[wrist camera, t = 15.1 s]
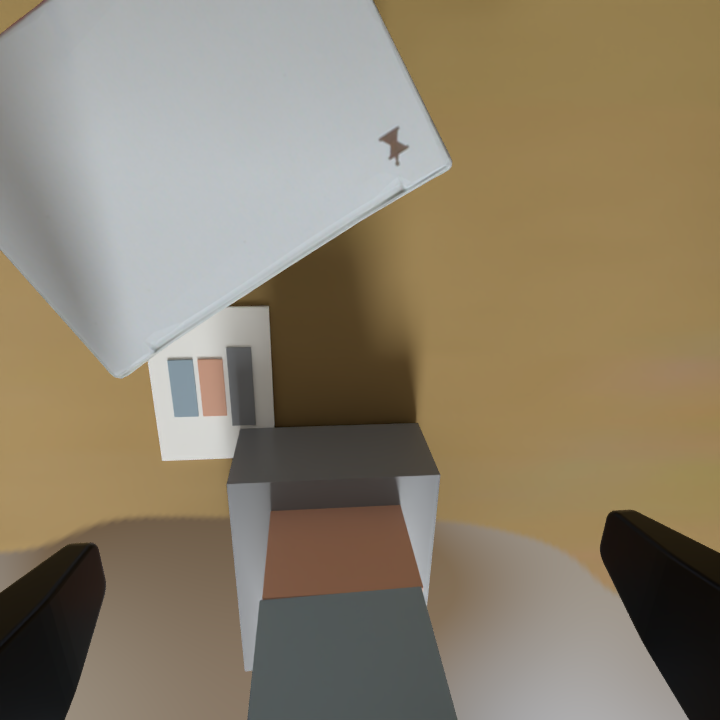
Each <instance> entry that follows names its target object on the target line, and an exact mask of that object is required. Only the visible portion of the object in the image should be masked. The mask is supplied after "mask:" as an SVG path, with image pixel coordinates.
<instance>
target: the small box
mask: <svg viewBox="0 0 720 720" xmlns="http://www.w3.org/2000/svg"><path fill="white" fill-rule="evenodd" d="M451 166H452V160H451V157H450V155H449V153H448V151H447V149H446V147H445V145H444V143H443V141H442V139H441V137H440V135H439V133H438V131H437V129H436V127H435V125H434V123H433V121H432V119H431V117H430V115H429V113H428V111H427V109H426V107H425V105H424V103H423V100H422V98H421V96H420V94H419V92H418V90H417V88H416V86H415V84H414V82H413V80H412V78H411V76H410V74H409V72H408V70H407V68H406V66H405V64H404V62H403V60H402V58H401V56H400V54H399V52H398V50H397V48H396V46H395V44H394V42H393V40H392V38H391V36H390V34H389V32H388V30H387V28H386V26H385V24H384V22H383V20H382V18H381V16H380V14H379V12H378V10H377V8H376V5H375V3H374V1H373V0H43V1H42V2H41V3H40V4H39V5H37V6H36V7H35V8H34V9H32V10H31V11H30V12H28V13H27V14H26V15H24V16H23V17H22V18H20V19H19V20H18V21H16V22H15V23H14V24H12V25H11V26H10V27H9V28H7V29H6V30H5V31H4V32H2V33H1V34H0V250H1V251H2V252H3V253H4V254H5V256H6V257H7V258H8V259H9V260H10V261H11V262H12V263H13V265H14V266H15V267H16V268H17V269H18V270H19V271H20V272H21V273H22V275H23V276H24V277H25V278H26V279H27V280H28V281H29V282H30V284H31V285H32V286H33V287H34V288H35V289H36V290H37V291H38V293H39V294H40V295H41V296H42V297H43V298H44V299H45V300H46V301H47V303H48V304H49V305H50V306H51V307H52V308H53V309H54V310H55V312H56V313H57V314H58V315H59V316H60V317H61V318H62V319H63V321H64V322H65V323H66V324H67V325H68V326H69V327H70V328H71V330H72V331H73V332H74V333H75V334H76V335H77V336H78V337H79V339H80V340H81V341H82V342H83V343H84V344H85V345H86V346H87V348H88V349H89V350H90V351H91V352H92V353H93V354H94V355H95V356H96V358H97V359H98V360H99V361H100V362H101V363H102V364H103V366H104V367H105V368H106V369H107V370H108V371H109V373H110V374H111V375H113V376H114V377H117V378H124V377H126V376H128V375H130V374H131V373H132V372H134V371H135V370H136V369H137V368H139V367H140V366H141V365H143V364H144V363H145V362H147V361H148V360H150V359H151V358H152V357H154V356H155V355H156V354H158V353H159V352H161V351H162V350H163V349H165V348H166V347H167V346H169V345H170V344H172V343H173V342H175V341H176V340H178V339H179V338H181V337H182V336H184V335H185V334H187V333H188V332H190V331H191V330H193V329H194V328H196V327H197V326H199V325H200V324H202V323H203V322H205V321H206V320H208V319H209V318H211V317H212V316H214V315H215V314H217V313H218V312H220V311H222V310H223V309H225V308H226V307H228V306H229V305H231V304H232V303H234V302H236V301H237V300H239V299H240V298H242V297H243V296H245V295H246V294H248V293H249V292H251V291H253V290H254V289H256V288H257V287H259V286H260V285H262V284H263V283H265V282H266V281H268V280H269V279H271V278H273V277H274V276H276V275H277V274H279V273H280V272H282V271H283V270H285V269H286V268H288V267H290V266H291V265H293V264H294V263H296V262H297V261H299V260H301V259H302V258H304V257H305V256H307V255H308V254H310V253H312V252H313V251H315V250H316V249H318V248H319V247H321V246H323V245H324V244H326V243H327V242H329V241H330V240H332V239H334V238H335V237H337V236H338V235H340V234H341V233H343V232H344V231H346V230H348V229H349V228H351V227H352V226H354V225H355V224H357V223H358V222H360V221H362V220H363V219H365V218H367V217H368V216H370V215H372V214H373V213H375V212H377V211H378V210H380V209H382V208H383V207H385V206H387V205H389V204H390V203H392V202H394V201H395V200H397V199H399V198H400V197H402V196H404V195H406V194H407V193H409V192H411V191H412V190H414V189H416V188H418V187H419V186H421V185H423V184H425V183H426V182H428V181H430V180H431V179H433V178H435V177H437V176H439V175H441V174H443V173H444V172H446V171H448V170H449V169H450V168H451Z"/></svg>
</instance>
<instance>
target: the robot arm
mask: <svg viewBox="0 0 720 720" xmlns="http://www.w3.org/2000/svg"><path fill="white" fill-rule="evenodd" d="M600 553H601V557H602V560H603V563H604V565H605V567H606V569H607V571H608V573H609V575H610V577H611V579H612V581H613V583H614V585H615V587H616V589H617V591H618V593H619V596H620V598H621V600H622V602H623V604H624V606H625V608H626V610H627V612H628V614H629V616H630V618H631V620H632V622H633V624H634V626H635V628H636V630H637V632H638V634H639V636H640V638H641V640H642V641H643V643H644V645H645V647H646V649H647V650H648V652H649V654H650V656H651V657H652V659H653V661H654V662H655V664H656V666H657V667H658V669H659V671H660V672H661V674H662V676H663V677H664V679H665V680H666V682H667V684H668V686H669V687H670V689H671V691H672V692H673V694H674V695H675V697H676V699H677V700H678V702H679V704H680V705H681V707H682V709H683V710H684V712H685V714H686V715H687V717H688V718H689V720H720V553H719V552H717V551H715V550H713V549H711V548H709V547H707V546H705V545H703V544H701V543H699V542H697V541H695V540H693V539H691V538H689V537H687V536H685V535H683V534H681V533H679V532H677V531H675V530H673V529H671V528H669V527H667V526H665V525H663V524H661V523H659V522H657V521H655V520H653V519H651V518H649V517H647V516H645V515H643V514H641V513H639V512H637V511H634V510H617V511H612V512H610V513H609V514H608V516H607V519H606V523H605V527H604V531H603V536H602V540H601V544H600ZM105 590H106V581H105V575H104V571H103V566H102V562H101V558H100V553H99V549H98V547H97V545H96V544H94V543H91V542H90V543H75V544H69V545H67V546H65V547H63V548H62V549H60V550H59V551H58V552H56V553H55V554H54V555H52V556H51V557H49V558H48V559H47V560H45V561H44V562H42V563H41V564H40V565H38V566H37V567H36V568H34V569H33V570H31V571H30V572H28V573H27V574H26V575H24V576H23V577H21V578H20V579H19V580H17V581H16V582H15V583H13V584H12V585H10V586H9V587H8V588H6V589H5V590H3V591H2V592H1V593H0V720H65V717H66V715H67V713H68V710H69V708H70V705H71V702H72V700H73V697H74V694H75V692H76V689H77V685H78V682H79V679H80V676H81V673H82V670H83V666H84V663H85V659H86V656H87V653H88V649H89V646H90V643H91V639H92V636H93V633H94V629H95V626H96V622H97V619H98V616H99V612H100V609H101V606H102V602H103V598H104V595H105Z"/></svg>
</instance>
